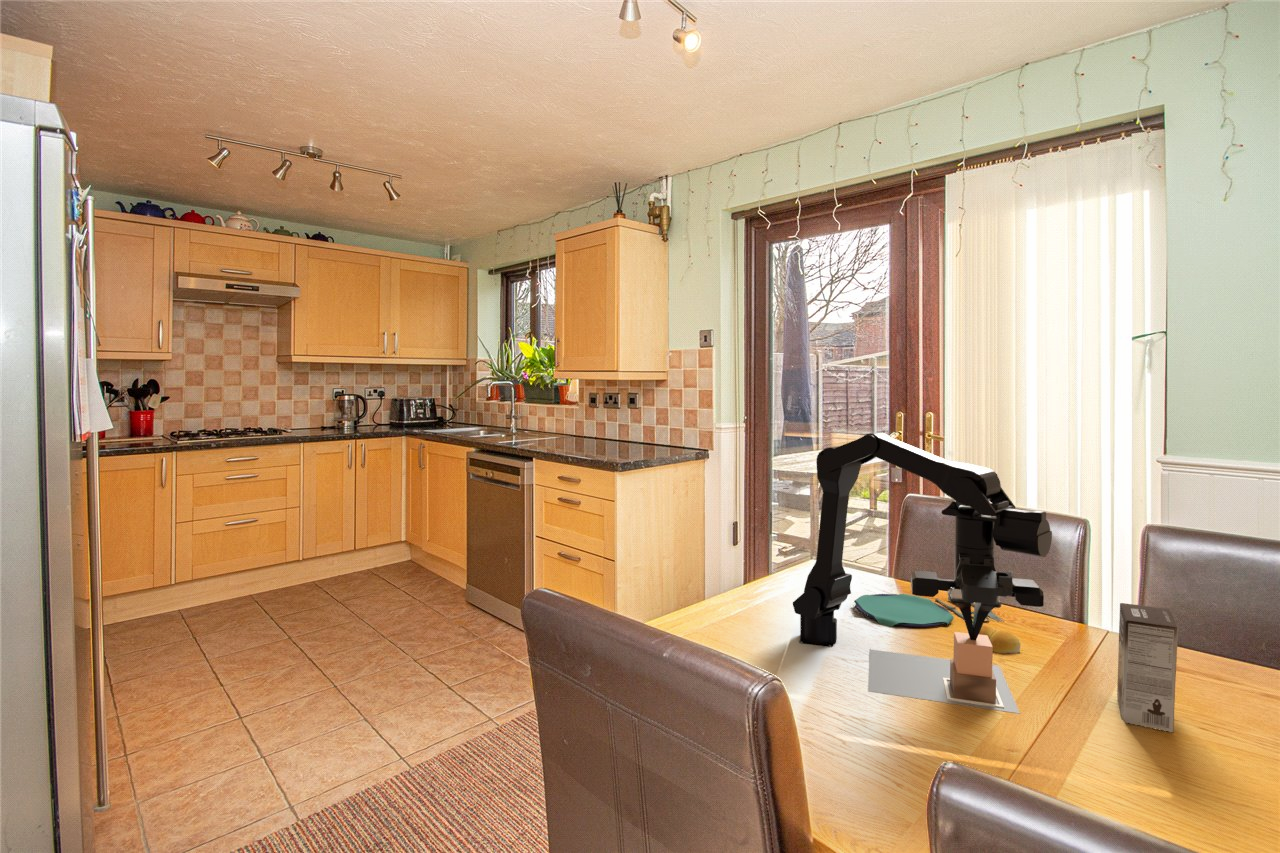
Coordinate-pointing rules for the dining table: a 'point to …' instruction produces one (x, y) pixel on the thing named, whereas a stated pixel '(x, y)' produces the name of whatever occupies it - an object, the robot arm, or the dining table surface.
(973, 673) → the terracotta block
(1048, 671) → the dining table surface
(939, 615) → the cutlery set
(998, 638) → the bread roll
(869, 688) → the slate board
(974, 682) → the walnut block
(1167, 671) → the coffee box
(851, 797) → the dining table surface
